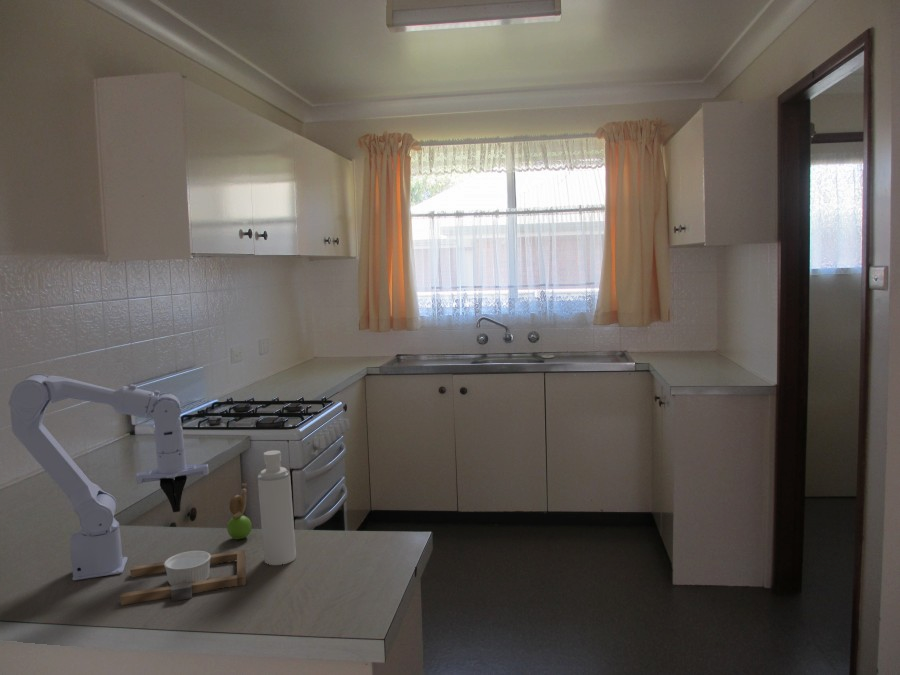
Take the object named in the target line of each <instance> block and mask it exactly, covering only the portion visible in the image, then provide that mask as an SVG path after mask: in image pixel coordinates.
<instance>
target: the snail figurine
mask: <svg viewBox="0 0 900 675" xmlns="http://www.w3.org/2000/svg"><path fill="white" fill-rule="evenodd" d="M241 486H242V489H241V490H240V493H241V495H239V494H235V495H234V496H232V498H231V499H230V502H229V511H230V513H231V519H229V521H228V522H227V525H226V530H227V534H228V535H229V536H230V538H233V539H234V540H243V539H245V538H246V537H248V536H249V535H250V533H251V531H252V521H251V520H250V518H249V517H248V516H245V515H243V513H244V512H245V511H246V507H247V491H248V490H247V488H244V487H247V483H241Z"/></svg>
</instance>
